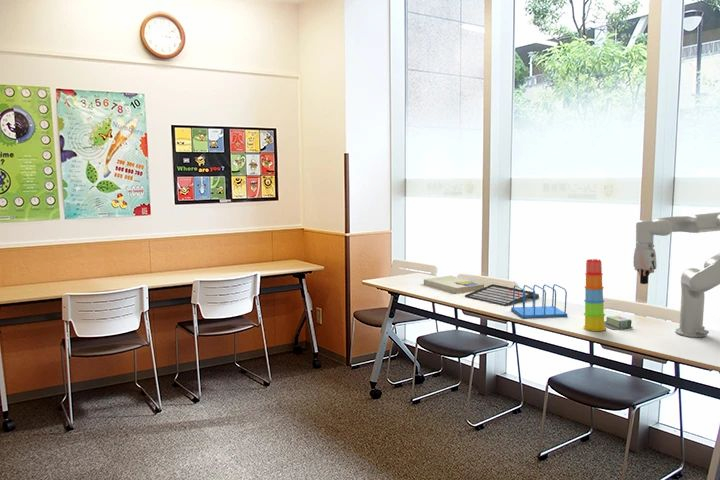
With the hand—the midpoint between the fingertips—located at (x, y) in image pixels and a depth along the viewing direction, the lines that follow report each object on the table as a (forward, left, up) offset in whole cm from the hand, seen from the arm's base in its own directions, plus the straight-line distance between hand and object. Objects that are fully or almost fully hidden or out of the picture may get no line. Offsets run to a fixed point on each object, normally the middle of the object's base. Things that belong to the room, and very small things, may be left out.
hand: (644, 283), depth 276 cm
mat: (+13, +5, -24) cm, 28 cm away
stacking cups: (+12, +18, -24) cm, 32 cm away
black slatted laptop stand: (+88, +22, -25) cm, 94 cm away
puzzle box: (+128, +35, -25) cm, 135 cm away
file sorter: (+47, +25, -24) cm, 59 cm away
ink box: (+6, +4, -22) cm, 23 cm away
